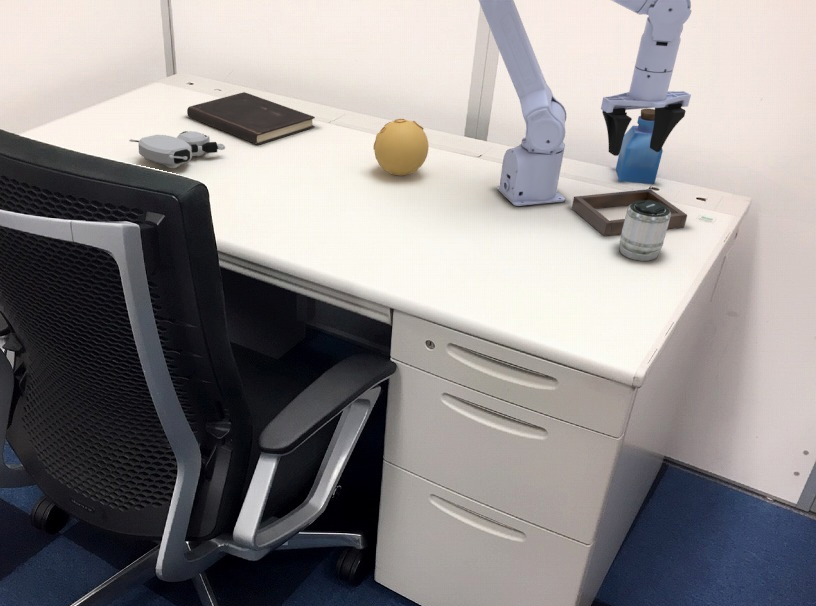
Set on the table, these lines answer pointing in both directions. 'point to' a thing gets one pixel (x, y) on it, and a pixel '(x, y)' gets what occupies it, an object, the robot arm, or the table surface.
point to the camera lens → (644, 230)
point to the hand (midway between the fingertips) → (634, 151)
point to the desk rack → (614, 227)
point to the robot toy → (176, 148)
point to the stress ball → (401, 147)
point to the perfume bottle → (639, 152)
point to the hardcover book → (251, 117)
